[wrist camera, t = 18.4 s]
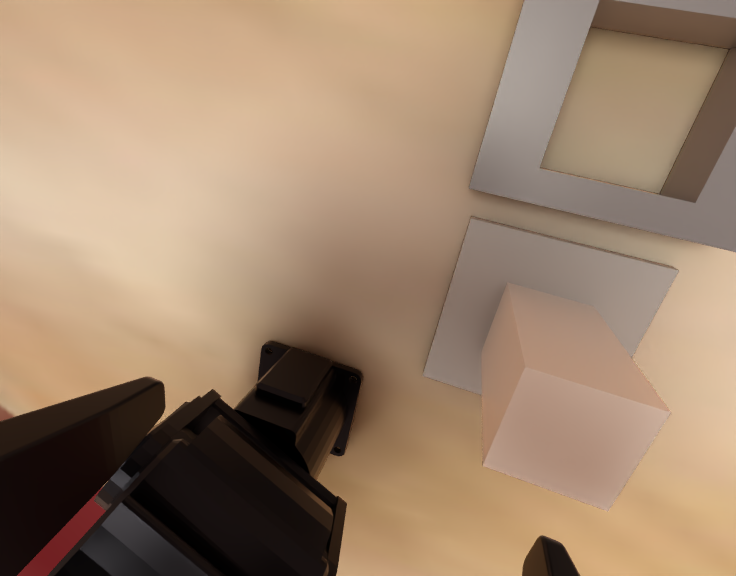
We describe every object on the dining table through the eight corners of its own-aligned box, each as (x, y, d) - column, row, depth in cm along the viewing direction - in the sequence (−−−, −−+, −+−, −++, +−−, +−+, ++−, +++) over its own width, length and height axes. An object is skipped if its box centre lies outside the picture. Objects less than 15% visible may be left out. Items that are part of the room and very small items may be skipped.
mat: (588, 423, 21) (591, 431, 20) (423, 370, 22) (422, 375, 22) (672, 266, 17) (679, 270, 17) (471, 216, 19) (470, 218, 18)
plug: (560, 376, 20) (608, 511, 12) (481, 352, 20) (482, 466, 13) (593, 306, 18) (671, 412, 11) (507, 282, 19) (525, 366, 11)
